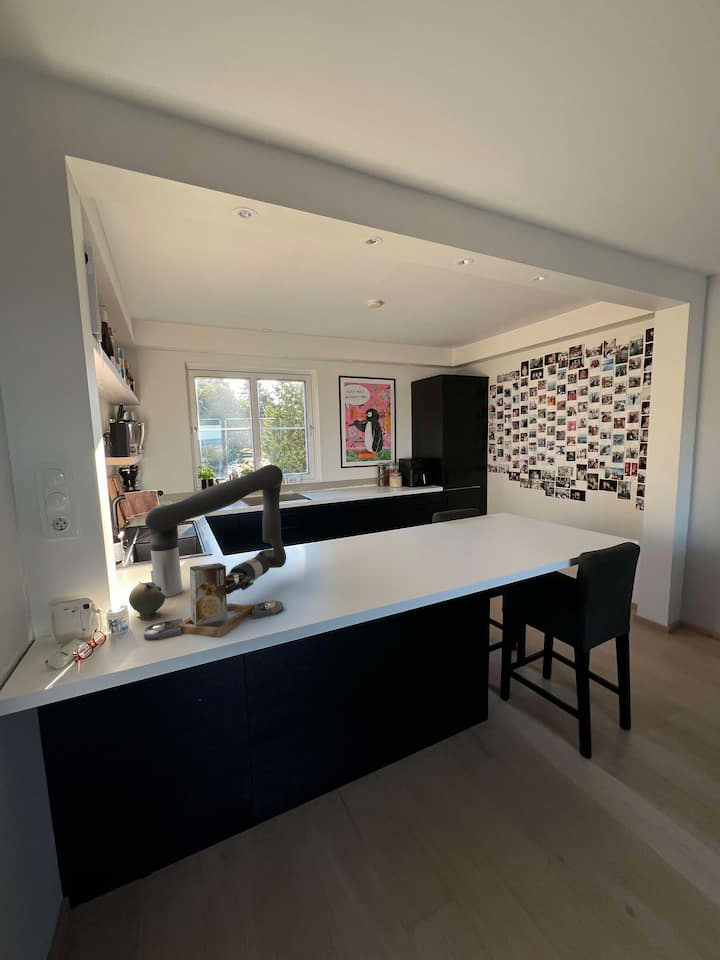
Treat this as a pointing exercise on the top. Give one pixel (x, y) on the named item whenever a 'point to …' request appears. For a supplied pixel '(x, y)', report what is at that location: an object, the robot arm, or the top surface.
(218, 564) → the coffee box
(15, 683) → the top surface
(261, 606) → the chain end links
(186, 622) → the wooden picture frame
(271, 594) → the top surface
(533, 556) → the top surface
